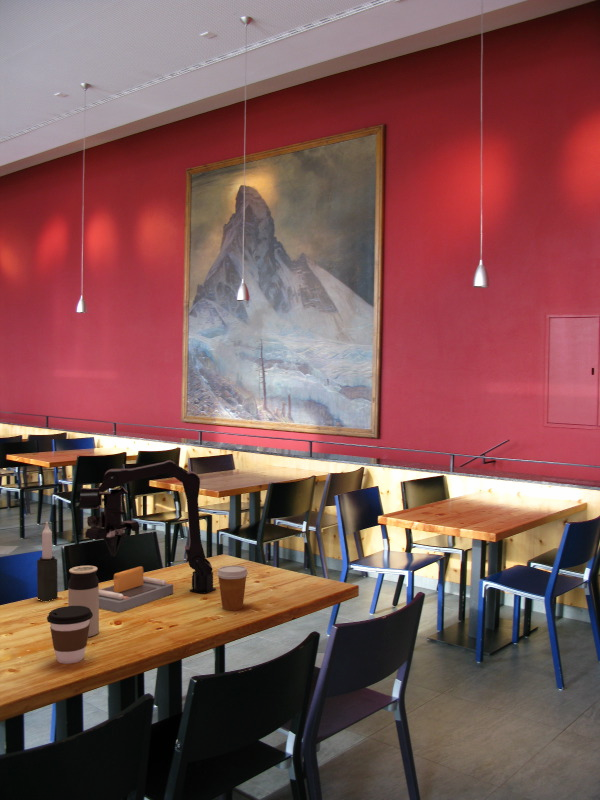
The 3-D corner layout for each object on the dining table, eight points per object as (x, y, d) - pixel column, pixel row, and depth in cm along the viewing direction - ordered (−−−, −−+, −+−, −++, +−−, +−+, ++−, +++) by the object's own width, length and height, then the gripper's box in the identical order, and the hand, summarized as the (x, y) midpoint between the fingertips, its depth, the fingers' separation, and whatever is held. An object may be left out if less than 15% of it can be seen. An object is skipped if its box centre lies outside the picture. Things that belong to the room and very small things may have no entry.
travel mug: (104, 633, 203) (103, 568, 203) (77, 640, 198) (76, 573, 198) (89, 627, 209) (89, 563, 209) (63, 633, 204) (63, 568, 203)
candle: (45, 602, 233) (44, 523, 233) (35, 599, 236) (35, 521, 236) (59, 598, 237) (58, 521, 237) (49, 596, 241) (49, 519, 240)
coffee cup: (55, 670, 177) (54, 621, 177) (41, 657, 186) (41, 610, 185) (99, 660, 183) (99, 612, 183) (84, 648, 192) (83, 602, 192)
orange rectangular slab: (143, 584, 241) (143, 566, 241) (118, 592, 232) (118, 573, 232) (138, 583, 242) (138, 565, 242) (113, 591, 233) (113, 573, 233)
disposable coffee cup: (210, 609, 226) (210, 570, 225) (228, 601, 234) (227, 563, 234) (237, 613, 221) (237, 573, 221) (253, 605, 230) (253, 567, 229)
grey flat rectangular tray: (173, 593, 243) (173, 579, 243) (119, 612, 223) (119, 596, 223) (137, 586, 252) (137, 572, 251) (82, 604, 231) (82, 589, 231)
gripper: (116, 502, 253) (116, 548, 253) (73, 510, 237) (73, 558, 237) (140, 505, 247) (140, 551, 247) (97, 513, 231) (98, 563, 231)
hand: (113, 556), depth 241 cm, fingers closed
